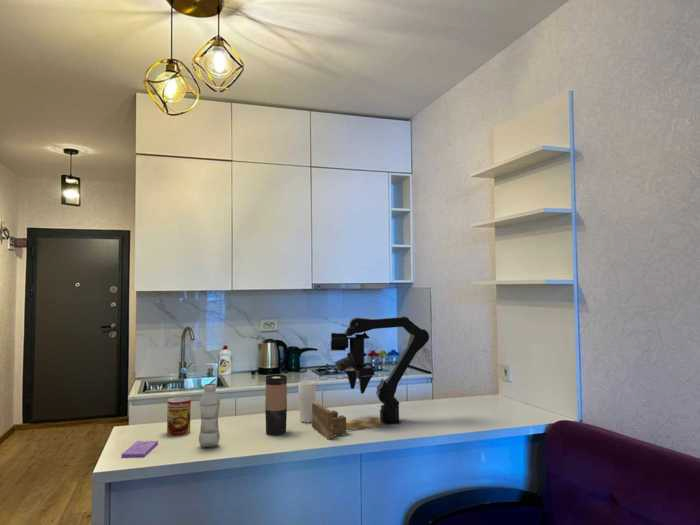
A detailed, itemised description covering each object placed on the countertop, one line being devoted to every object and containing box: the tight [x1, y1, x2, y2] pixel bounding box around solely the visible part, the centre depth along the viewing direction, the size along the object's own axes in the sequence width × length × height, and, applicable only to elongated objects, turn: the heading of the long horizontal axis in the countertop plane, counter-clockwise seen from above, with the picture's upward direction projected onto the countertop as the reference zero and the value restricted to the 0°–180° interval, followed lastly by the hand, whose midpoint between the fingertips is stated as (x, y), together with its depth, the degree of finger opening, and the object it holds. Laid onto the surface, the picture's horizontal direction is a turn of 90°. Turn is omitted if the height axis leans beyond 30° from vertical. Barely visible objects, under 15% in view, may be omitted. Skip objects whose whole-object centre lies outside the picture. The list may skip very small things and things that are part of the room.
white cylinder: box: [297, 380, 317, 424], centre depth 193 cm, size 7×7×15 cm
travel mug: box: [264, 374, 288, 437], centre depth 178 cm, size 8×8×20 cm
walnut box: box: [311, 402, 347, 440], centre depth 178 cm, size 8×16×9 cm, turn 23°
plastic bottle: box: [198, 383, 221, 448], centre depth 163 cm, size 6×7×20 cm
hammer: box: [333, 416, 382, 431], centre depth 182 cm, size 19×6×5 cm, turn 113°
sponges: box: [121, 440, 159, 459], centre depth 158 cm, size 7×13×2 cm, turn 3°
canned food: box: [166, 396, 192, 437], centre depth 178 cm, size 8×8×12 cm
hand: (357, 391), depth 191 cm, fingers open, 9 cm apart
